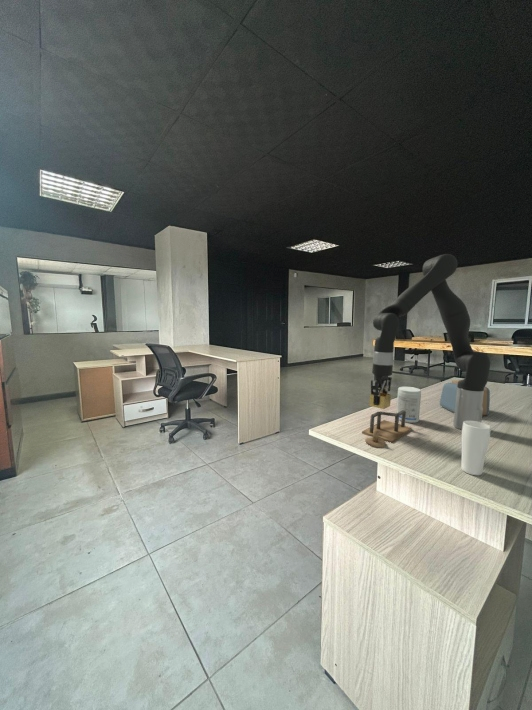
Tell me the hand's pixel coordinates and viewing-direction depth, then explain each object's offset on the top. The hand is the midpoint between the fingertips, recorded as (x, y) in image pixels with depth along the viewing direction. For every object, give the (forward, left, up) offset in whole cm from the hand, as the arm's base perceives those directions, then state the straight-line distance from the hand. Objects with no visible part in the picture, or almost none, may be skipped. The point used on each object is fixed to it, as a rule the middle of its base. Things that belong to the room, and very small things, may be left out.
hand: (379, 403), depth 116 cm
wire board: (-3, -2, -12) cm, 12 cm away
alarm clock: (-17, -59, -12) cm, 63 cm away
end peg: (-5, +13, -12) cm, 18 cm away
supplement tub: (-3, -23, -12) cm, 26 cm away
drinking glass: (-34, +10, -12) cm, 37 cm away
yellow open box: (0, 0, -1) cm, 1 cm away
